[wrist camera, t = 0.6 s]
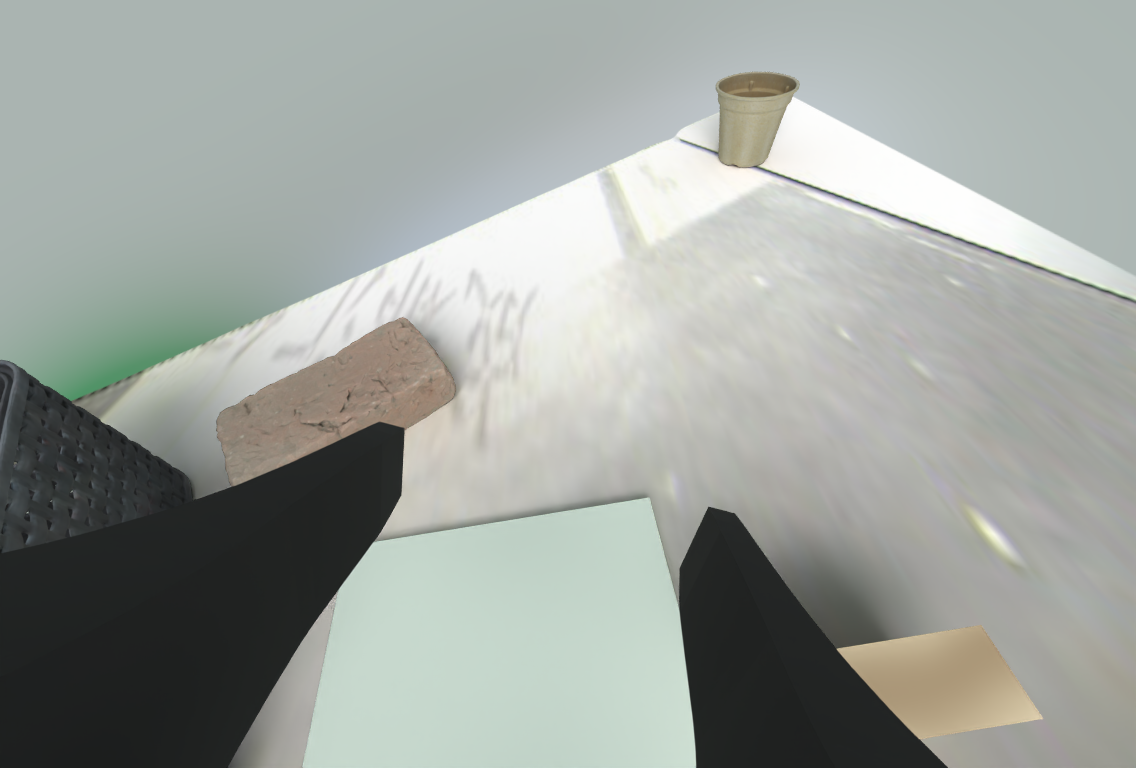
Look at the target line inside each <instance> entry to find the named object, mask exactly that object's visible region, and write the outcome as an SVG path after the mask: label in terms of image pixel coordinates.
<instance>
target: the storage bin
mask: <svg viewBox="0 0 1136 768" xmlns="http://www.w3.org/2000/svg"><path fill="white" fill-rule="evenodd" d="M14 462H17V464H15V465H14ZM55 485H56V486H55ZM71 490H73V492H72V493H70V492H71ZM51 500H52V502H50V501H51ZM191 501H193V500H192V492H191V484H190V481H189V479H188V477H187V476H186V475H185V474H184V473H183V472H181V471H180V470H178V469H176V468H173V467H172V466H171V465H170V464H168V463H166V462H165V461H164V460H162V459H161V458H159V457H157V456H153V455H152V454H151V453H150V452H149V451H148V450H146V449H145V448H143V447H142V446H141V445H139V444H137V443H136V442H134V441H130V440H128V438H127V437H126V436H125V435H123V434H122V433H120V432H118V431H117V430H116V429H114V428H112V427H111V426H109V425H105V424H104V423H102V422H101V421H100V419H98V418H97V417H95V416H93V415H92V414H91V413H89V412H88V411H86V410H85V409H83V408H81V407H79V406H75V405H74V404H72V402H71V401H70V400H69V399H67V398H65V397H64V396H62V395H60V394H59V393H58V392H56V391H55V390H53V389H52V388H50V387H48V386H44V385H43V384H41V383H40V382H39V381H38V380H37V379H36V378H34V377H32V376H31V375H29V374H27V372H26V371H25V370H23V369H22V368H20V367H18V366H17V365H15V364H14V363H12V362H9V361H5V360H0V553H5V552H9V551H13V550H18V549H22V548H27V547H31V546H35V545H40V544H44V543H48V542H52V541H56V540H60V539H64V538H68V537H72V536H76V535H80V534H84V533H88V532H91V531H95V530H98V529H102V528H105V527H109V526H112V525H116V524H119V523H123V522H126V521H130V520H133V519H137V518H140V517H144V516H147V515H151V514H154V513H158V512H161V511H164V510H167V509H170V508H173V507H176V506H179V505H182V504H185V503H188V502H191ZM28 511H29V514H26V512H28Z"/></svg>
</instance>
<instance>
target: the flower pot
mask: <svg viewBox="0 0 1136 768" xmlns="http://www.w3.org/2000/svg"><path fill="white" fill-rule="evenodd" d="M799 85H800V84H799V81H798V80H797V79H795V78H794V77H791V76H788V75H784V74H780V73H773V72H747V73H740V74H735V75H732V76H728V77H726V78H723V79H721V80H720V81H718V82H717V84H716V91H717V92H718V102H719V104H720V125H719V155H718V156H719V159H720V161H721V162H723V163H724V164H726V165H732V164H734V165H737V166H738V167H742V168H744V167H752V166H757V165H760V164H762V163H763V162H764V161H765V160H766V159H767V158H768V155H769V152H770V149H771V147H772V144H773V141H774V139H775V136H776V133H777V131H778V128H779V125H780V123H781V120H782V117H783V115H784V112H785V110H786V107H787V105H788V104H789V103H790V102H791V99H792V97H793V94H794V93H795V92H796V91H797V90H798V89H799Z"/></svg>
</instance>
